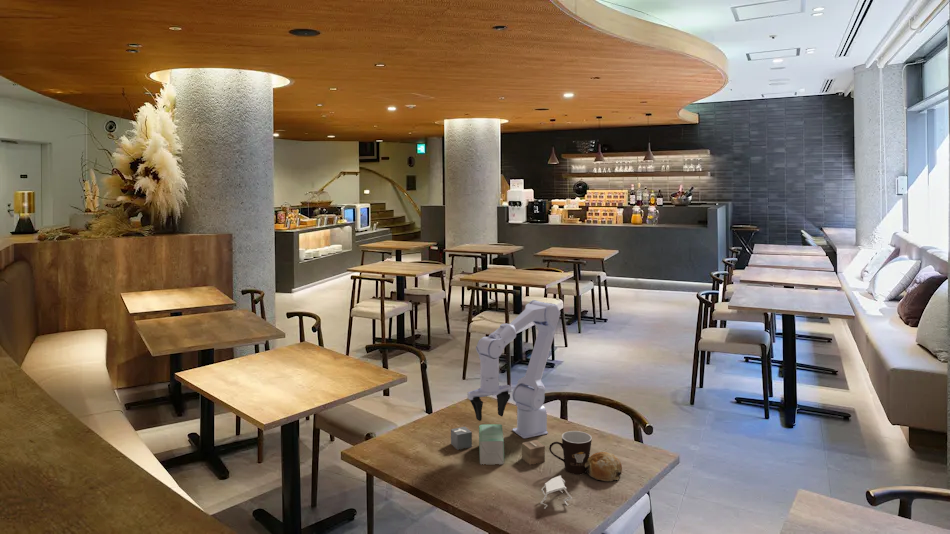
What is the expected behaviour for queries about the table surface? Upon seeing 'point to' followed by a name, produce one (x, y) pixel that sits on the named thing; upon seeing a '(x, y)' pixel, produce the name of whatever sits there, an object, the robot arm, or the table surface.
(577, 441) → the coffee mug
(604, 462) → the bread roll
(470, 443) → the charcoal cube
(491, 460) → the box
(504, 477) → the table surface
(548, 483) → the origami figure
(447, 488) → the table surface
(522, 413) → the robot arm
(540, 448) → the brown cardboard cube
